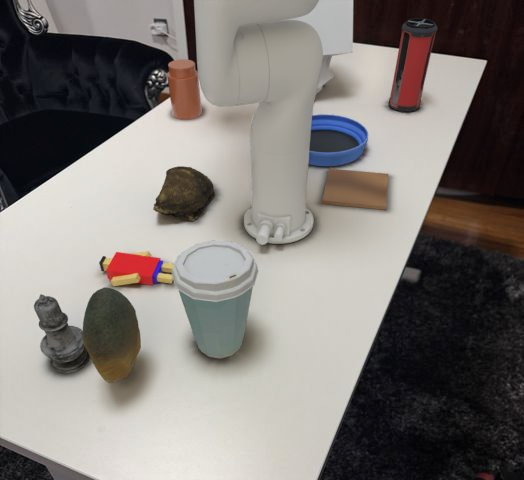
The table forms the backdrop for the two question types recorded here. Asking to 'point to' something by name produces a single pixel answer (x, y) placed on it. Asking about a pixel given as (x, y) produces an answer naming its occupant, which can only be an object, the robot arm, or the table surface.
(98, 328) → the mango
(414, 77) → the speaker
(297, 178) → the robot arm
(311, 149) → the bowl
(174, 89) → the jar
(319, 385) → the table surface
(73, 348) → the grey chess piece
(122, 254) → the toy figure
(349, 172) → the coaster
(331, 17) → the jagged white slab
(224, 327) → the disposable coffee cup
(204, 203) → the seashell
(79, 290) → the table surface
